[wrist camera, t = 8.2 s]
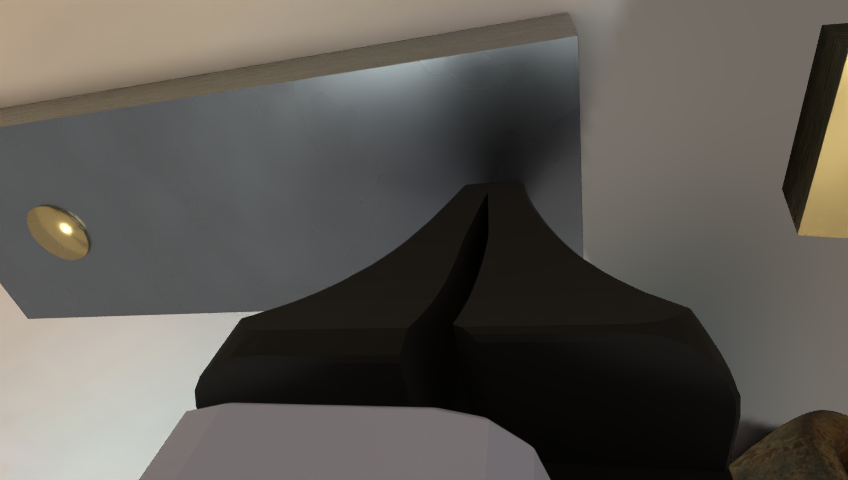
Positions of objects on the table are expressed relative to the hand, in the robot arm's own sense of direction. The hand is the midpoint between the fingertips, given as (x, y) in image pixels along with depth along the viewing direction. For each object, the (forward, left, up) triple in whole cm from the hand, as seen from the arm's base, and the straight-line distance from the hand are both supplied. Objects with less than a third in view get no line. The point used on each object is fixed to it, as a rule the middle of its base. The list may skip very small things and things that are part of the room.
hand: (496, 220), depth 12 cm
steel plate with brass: (0, +8, -4) cm, 9 cm away
